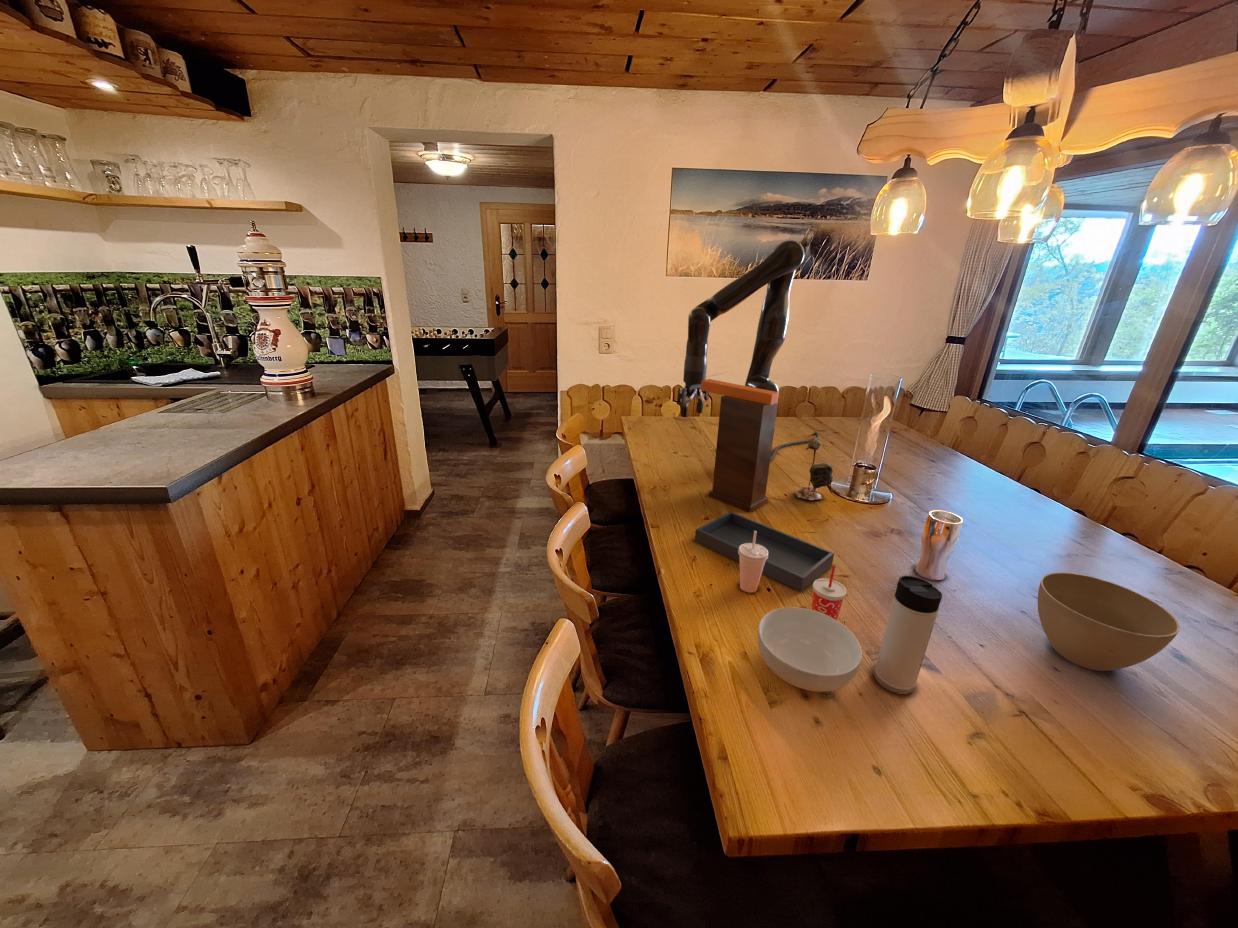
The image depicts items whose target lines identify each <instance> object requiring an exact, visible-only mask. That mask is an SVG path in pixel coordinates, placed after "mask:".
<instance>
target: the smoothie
mask: <svg viewBox="0 0 1238 928" xmlns="http://www.w3.org/2000/svg"><path fill="white" fill-rule="evenodd" d="M756 534H757V531H754V536H753V543H745V544H742V545H740V546H739V550H738V554H739V560H740V563H739V588H740V589H741V590H742V591H743V592H745V593H755V592H757V590H758V587H759V583H760V580H761V577H762V575H763V574H762V571H763V567H764V564H765V561H766V559H767V558H768V550H767V549H766V548H765V547H763V546H761V545H759V544H755V541H756Z"/></svg>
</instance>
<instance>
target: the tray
mask: <svg viewBox="0 0 1238 928" xmlns="http://www.w3.org/2000/svg"><path fill="white" fill-rule="evenodd" d="M754 531H757V534H756V541H755V544H759V545H761V546H763V547H765V548H766V549H767V550H768V558H767V559H766V561H765V564H764V567H763V571H762V574H761V575H764V576H767V577H768V578H770V579H772V580H775V581H777V582H779V583H781V584H783V585H785V586H788V587H790V588H791V589H793V590H795V591H798V592H800V593H802V592H803V591H804V590H805V589H806V588H807V587H809V586H810V585H811V584H813V582H814V581H815V580H817V579H819V578H820V577H821V575H823V574H824V573H825V572H826V571H827V570H828V569H829V568H832V566H833V563H834V556H835V552H833V551H831V550H828V549H826V548H823V547H821V546H818V545H816V544H813V543H811V542H808V541H806V540H803V539H801V538H798V537H795V536H793V535H791V534H788V533H786V532H783V531H781V530H779V529H776V528H773V527H771V526H768V525H766V524H763V523H761V522H758V521H756V520H754V519H751V518H748V517H746V516H744V515H741V514H739V513H736V512H733V511H731V510H730V511H728V512H726V513H724V514H722V515H721V516H719V517H717V518H715V519H713V520H711V521H709V522H707V523H705V524H703V525H702V526H699V527H697V528H695V534H694V542H695V543H697V544H700V545H702V546H703V547H705V548H708V549H710V550H712V551H714V552H716V553H718V554H720V555H723V556H725V557H727V558H729V559H731V560H733V561H735V562H737V563H739V564H740V560H739V554H738V550H739V546H740V545H742V544H745V543H753V536H754Z"/></svg>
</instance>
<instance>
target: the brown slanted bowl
mask: <svg viewBox="0 0 1238 928" xmlns="http://www.w3.org/2000/svg"><path fill="white" fill-rule="evenodd" d="M1037 612H1038V617H1039V622H1040V625H1041V628H1042V630H1043V632H1044V634H1045V636H1046V638H1047V639H1048V641H1049V643H1050V645H1051V646H1052V648H1053V649H1054V650H1055V651H1056V652H1057V653H1058V654H1059V655H1060V656H1061V657H1063V658H1065V659H1066V660H1068V661H1069V662H1071V663H1073V664H1074V665H1077V666H1079V667H1082V668H1085V669H1088V670H1091V671H1098V672H1104V671H1105V672H1108V671H1109V672H1110V671H1116V670H1121V669H1125V668H1129V667H1133V666H1136V665H1138V664H1140V663H1143V662H1145V661H1147V660H1150V659H1151V658H1153V657H1154V656H1155V655H1157V654H1159V653H1160V652H1161V651H1162V650H1164V649H1165V648H1166V647H1167V646H1169V645H1170V643H1171V642H1172V641H1173V640H1174V639H1175V638H1176V636H1177V635H1178V634H1179V632H1180V629H1181V627H1180V623H1179V622H1178V619H1177V618H1176V617H1175V616H1174V615H1173V614H1172V613H1171V612H1170V611H1169V610H1168V609H1166V608H1165V607H1163V606H1161V605H1160V604H1159V603H1157V602H1156V601H1154V600H1152V599H1150V598H1149V597H1147V596H1145V595H1142V594H1140V593H1139V592H1136V591H1135V590H1132V589H1130V588H1128V587H1125V586H1122V585H1120V584H1117V583H1114V582H1112V581H1108V580H1104V579H1102V578H1099V577H1094V576H1090V575H1085V574H1081V573H1080V574H1079V573H1074V572H1052V573H1047V574H1045V575H1044V576H1042V578H1041V579H1040V583H1039V586H1038V592H1037Z"/></svg>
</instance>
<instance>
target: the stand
mask: <svg viewBox="0 0 1238 928" xmlns="http://www.w3.org/2000/svg"><path fill="white" fill-rule="evenodd" d="M778 405H779V402H778V403H776V404H773V405H767V404H763V403H758V402H753V401H749V400H744V399H739V398H735V397H730V396H725V395H722V396H720V405H719V406H720V407H719V414H718V415H719V416H718V427H717V437H716V449H715V460H714V467H713V468H714V469H713V478H712V479H713V481H712V489H711V490H709V491H708V497H710V498H713V499H716V500H718V501H721V502H724V503H726V504H729V505H731V506H734V507H736V508H738V509H742V510H744V511H746V512H749V513H750V512H753V511H754V510H756V509H758V508H760V507H761V506H763V505H765V504H767V503H768V501H769V496H766V493H767V486H768V478H769V473H770V471H769V470H770V464H771V460H770V458H771V455H772V449H773V442H774V435H775V428H776V420H777V414H778V408H779V407H778Z"/></svg>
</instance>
